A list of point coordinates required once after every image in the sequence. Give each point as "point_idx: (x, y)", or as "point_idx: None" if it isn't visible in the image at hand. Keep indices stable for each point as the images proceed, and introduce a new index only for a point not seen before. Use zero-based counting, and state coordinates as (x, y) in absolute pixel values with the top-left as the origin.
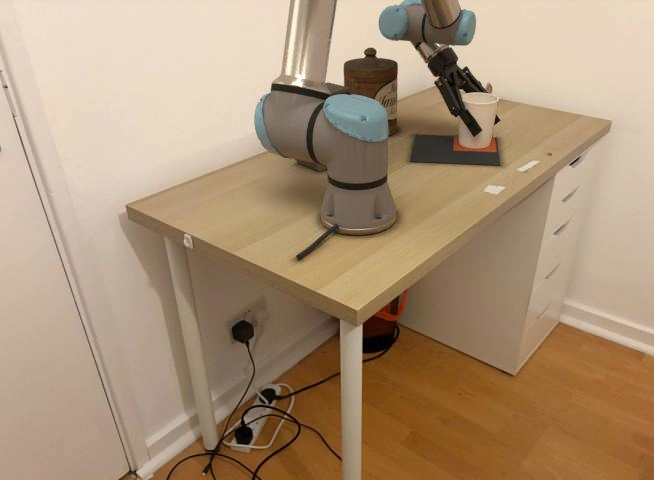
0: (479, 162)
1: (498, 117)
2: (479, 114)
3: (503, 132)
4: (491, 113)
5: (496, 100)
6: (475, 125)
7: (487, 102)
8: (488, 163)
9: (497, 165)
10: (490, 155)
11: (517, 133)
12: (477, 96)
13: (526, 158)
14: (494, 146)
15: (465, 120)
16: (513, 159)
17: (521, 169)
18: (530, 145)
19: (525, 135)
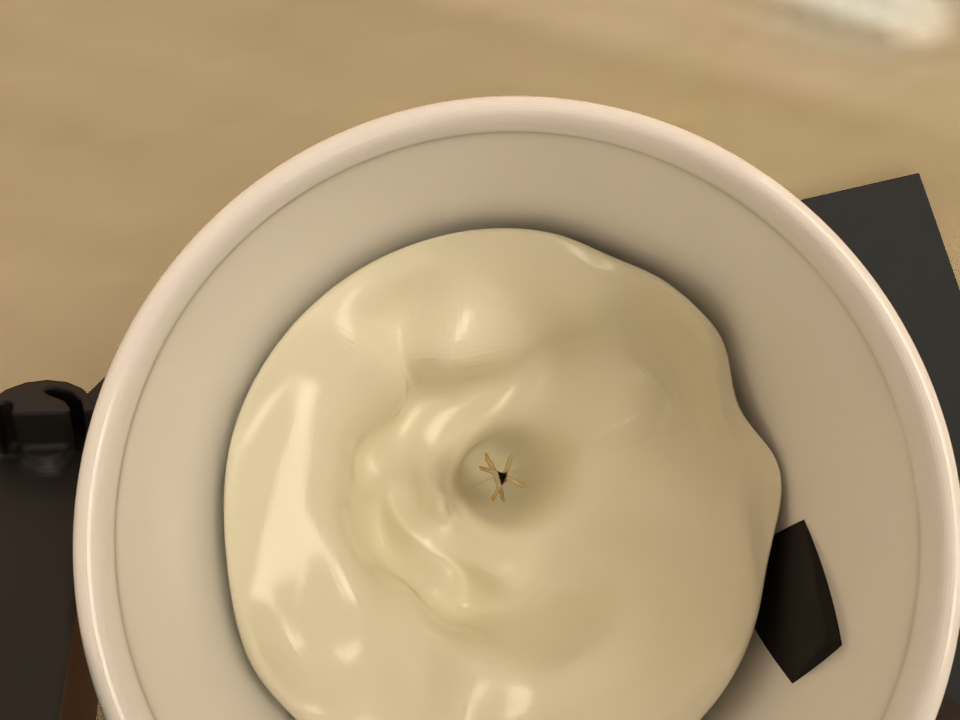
0: (943, 348)
1: None
2: (810, 412)
3: (21, 302)
4: (672, 243)
5: (337, 187)
6: None
7: (200, 397)
8: (932, 271)
9: (921, 197)
10: None
11: (18, 173)
12: (143, 618)
13: (651, 12)
14: None
15: None
16: (716, 103)
17: (908, 15)
18: (321, 23)
19: (58, 98)
